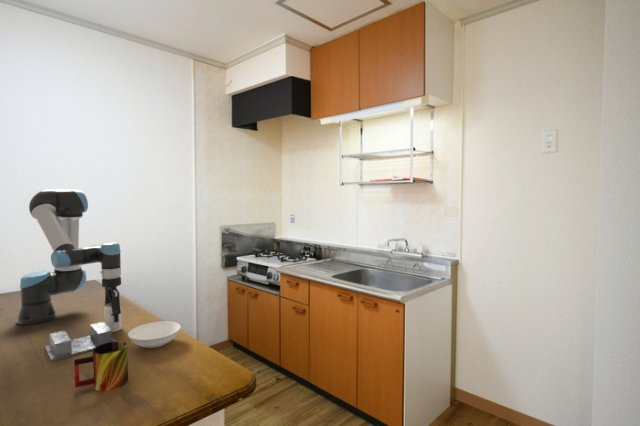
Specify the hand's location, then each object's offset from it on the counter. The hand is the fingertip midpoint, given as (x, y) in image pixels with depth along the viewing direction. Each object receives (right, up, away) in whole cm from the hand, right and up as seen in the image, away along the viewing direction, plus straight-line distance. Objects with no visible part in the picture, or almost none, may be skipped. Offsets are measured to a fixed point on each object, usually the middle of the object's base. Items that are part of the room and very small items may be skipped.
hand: (113, 325), depth 161 cm
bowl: (+27, -3, -16) cm, 31 cm away
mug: (+25, -5, -47) cm, 53 cm away
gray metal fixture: (-3, -3, -17) cm, 17 cm away
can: (0, -2, 0) cm, 2 cm away
